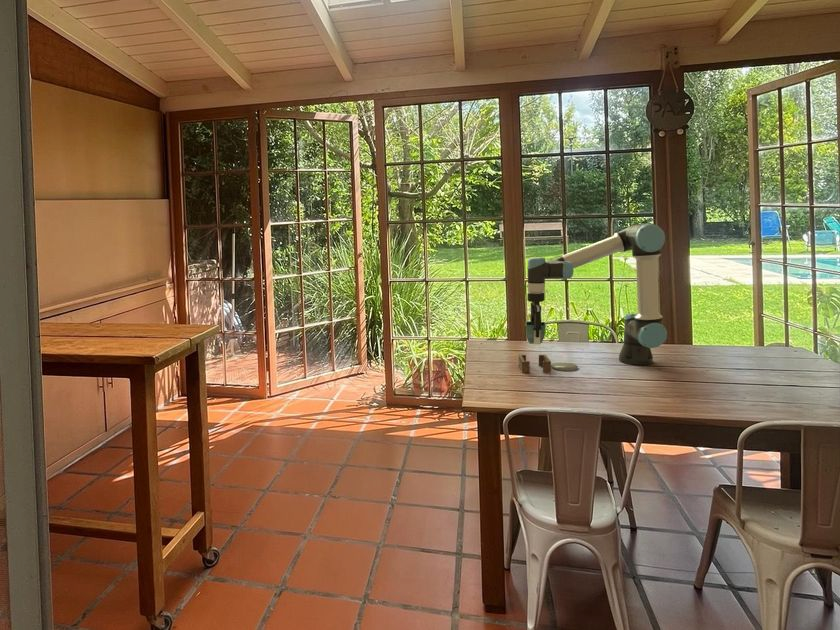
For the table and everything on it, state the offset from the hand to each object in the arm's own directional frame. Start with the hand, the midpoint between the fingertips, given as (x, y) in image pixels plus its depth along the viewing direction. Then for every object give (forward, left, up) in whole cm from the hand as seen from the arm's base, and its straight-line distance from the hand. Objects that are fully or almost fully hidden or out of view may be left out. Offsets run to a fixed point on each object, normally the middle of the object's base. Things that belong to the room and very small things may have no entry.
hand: (535, 341), depth 240 cm
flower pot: (0, 0, -1) cm, 1 cm away
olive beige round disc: (-14, -2, -13) cm, 19 cm away
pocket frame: (0, 0, -13) cm, 13 cm away
